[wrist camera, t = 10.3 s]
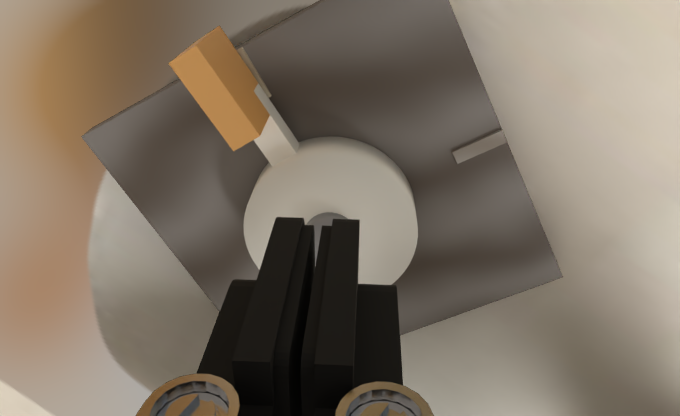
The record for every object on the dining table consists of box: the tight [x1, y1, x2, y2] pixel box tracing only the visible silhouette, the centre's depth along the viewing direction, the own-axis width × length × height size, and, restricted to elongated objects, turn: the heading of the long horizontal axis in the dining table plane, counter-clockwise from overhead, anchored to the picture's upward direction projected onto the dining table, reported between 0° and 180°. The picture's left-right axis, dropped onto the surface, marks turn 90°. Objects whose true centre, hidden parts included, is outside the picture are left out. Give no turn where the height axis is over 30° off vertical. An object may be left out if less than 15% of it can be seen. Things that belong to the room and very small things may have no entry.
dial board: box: [82, 0, 563, 335], centre depth 35 cm, size 22×22×2 cm
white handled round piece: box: [168, 26, 418, 285], centre depth 30 cm, size 18×10×5 cm, turn 31°
